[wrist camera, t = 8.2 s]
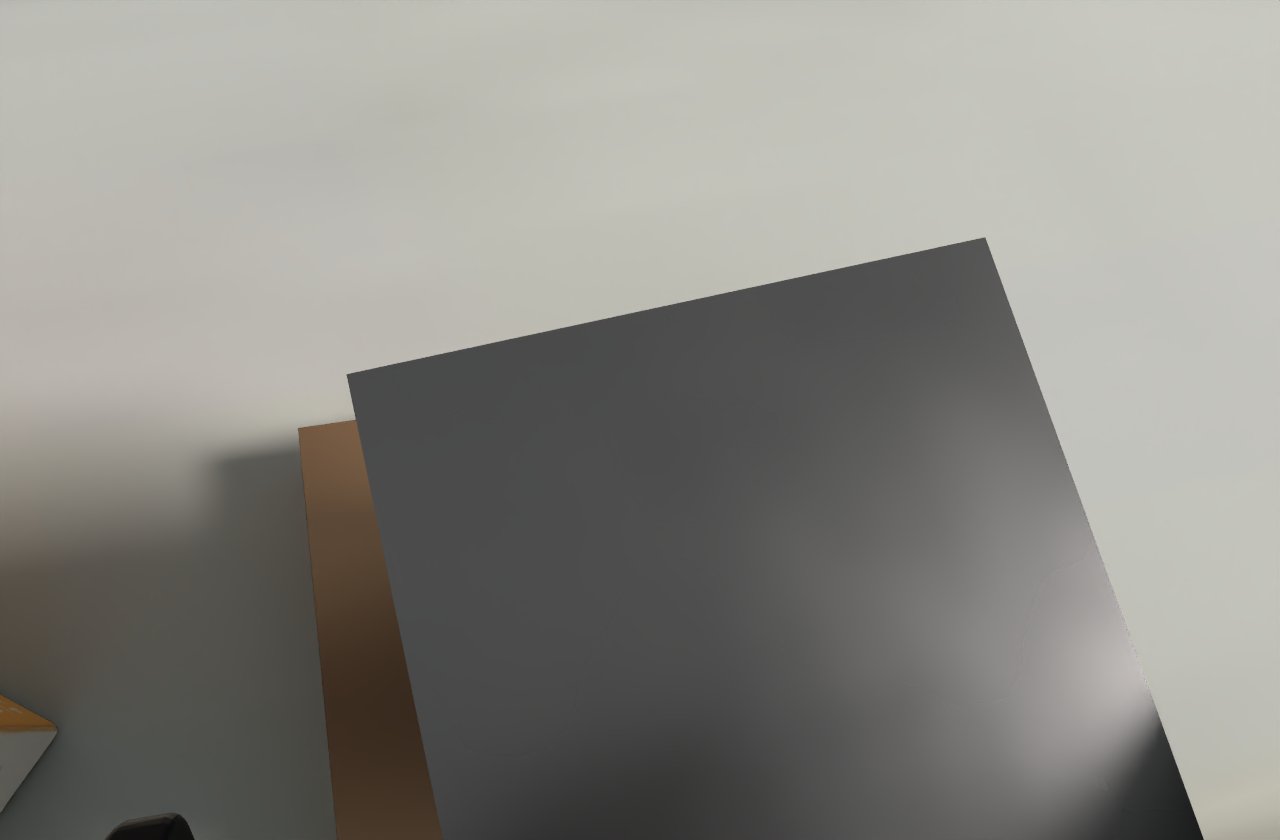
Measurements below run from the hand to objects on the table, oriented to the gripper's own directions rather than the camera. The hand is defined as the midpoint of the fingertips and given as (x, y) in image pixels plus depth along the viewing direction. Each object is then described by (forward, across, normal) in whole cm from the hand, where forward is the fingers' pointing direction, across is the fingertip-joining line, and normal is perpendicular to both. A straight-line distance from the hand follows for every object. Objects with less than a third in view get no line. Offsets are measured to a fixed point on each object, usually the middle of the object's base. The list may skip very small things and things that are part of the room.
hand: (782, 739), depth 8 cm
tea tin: (+8, 0, +7) cm, 10 cm away
